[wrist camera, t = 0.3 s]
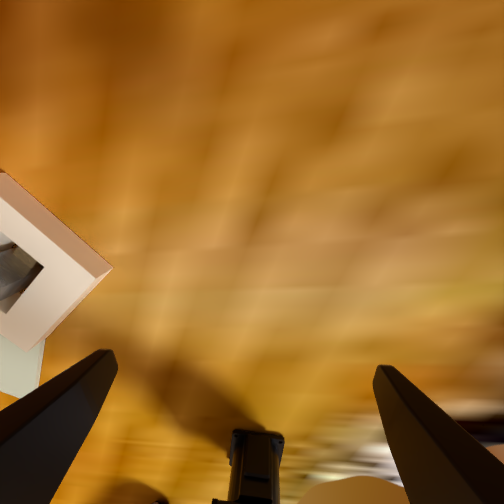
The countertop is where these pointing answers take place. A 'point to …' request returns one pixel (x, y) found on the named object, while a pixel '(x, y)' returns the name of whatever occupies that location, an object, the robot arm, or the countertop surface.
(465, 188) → the countertop surface
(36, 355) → the key mat
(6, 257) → the t key
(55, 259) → the cover plate
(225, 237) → the countertop surface
